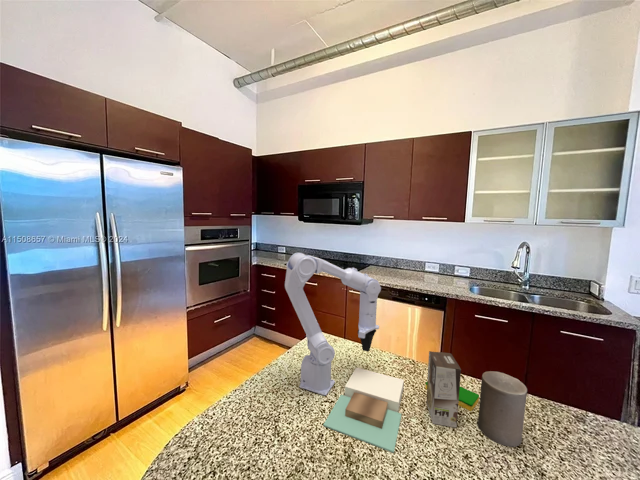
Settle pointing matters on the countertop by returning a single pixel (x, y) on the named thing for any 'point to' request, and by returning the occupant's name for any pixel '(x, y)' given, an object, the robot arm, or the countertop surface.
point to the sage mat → (364, 426)
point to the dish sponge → (466, 398)
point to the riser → (376, 387)
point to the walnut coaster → (367, 410)
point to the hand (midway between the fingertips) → (366, 350)
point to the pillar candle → (502, 408)
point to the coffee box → (443, 388)
